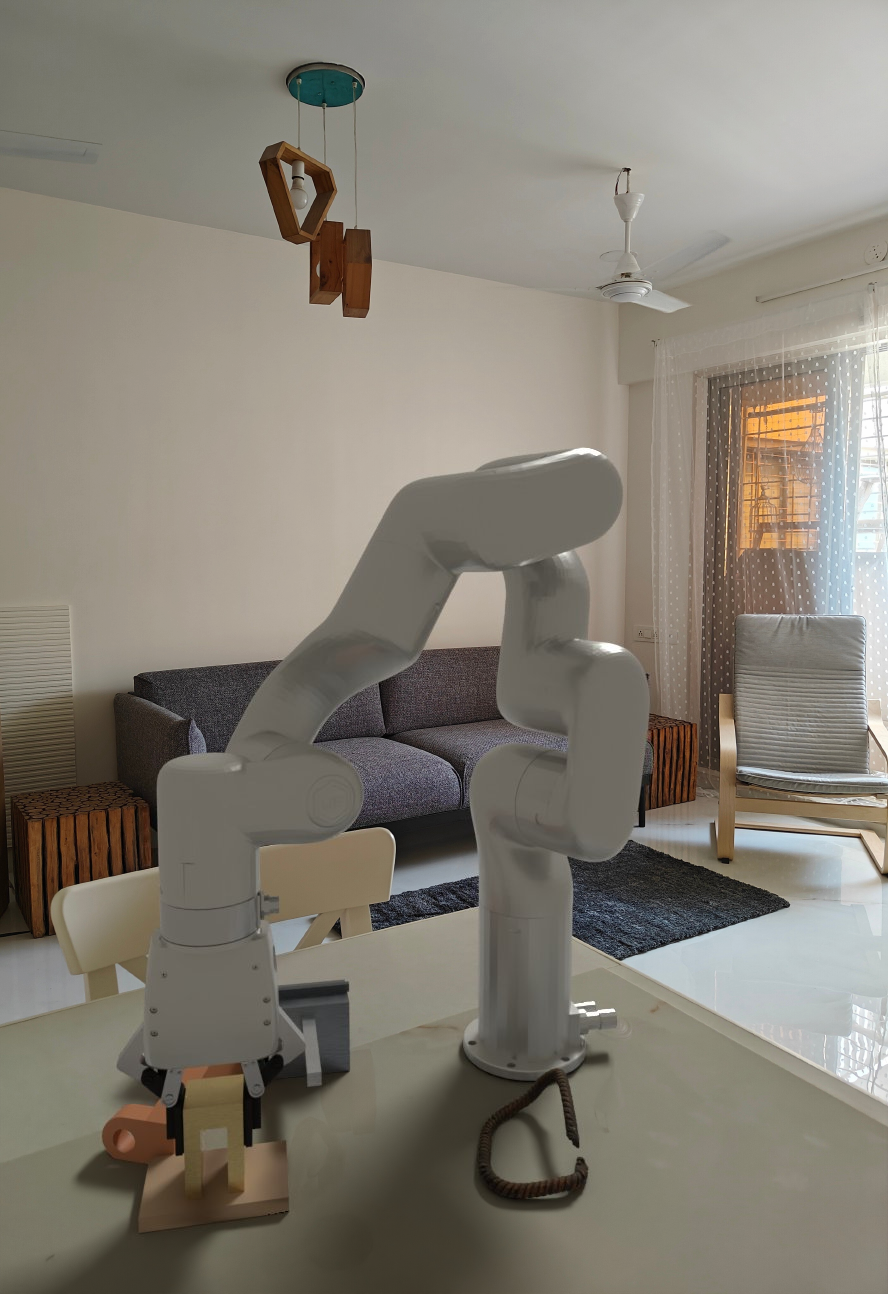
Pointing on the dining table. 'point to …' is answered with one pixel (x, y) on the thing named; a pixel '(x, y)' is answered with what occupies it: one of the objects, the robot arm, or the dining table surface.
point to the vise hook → (318, 1028)
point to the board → (214, 1189)
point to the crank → (151, 1122)
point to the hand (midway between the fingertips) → (215, 1138)
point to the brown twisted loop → (571, 1132)
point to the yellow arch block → (212, 1109)
